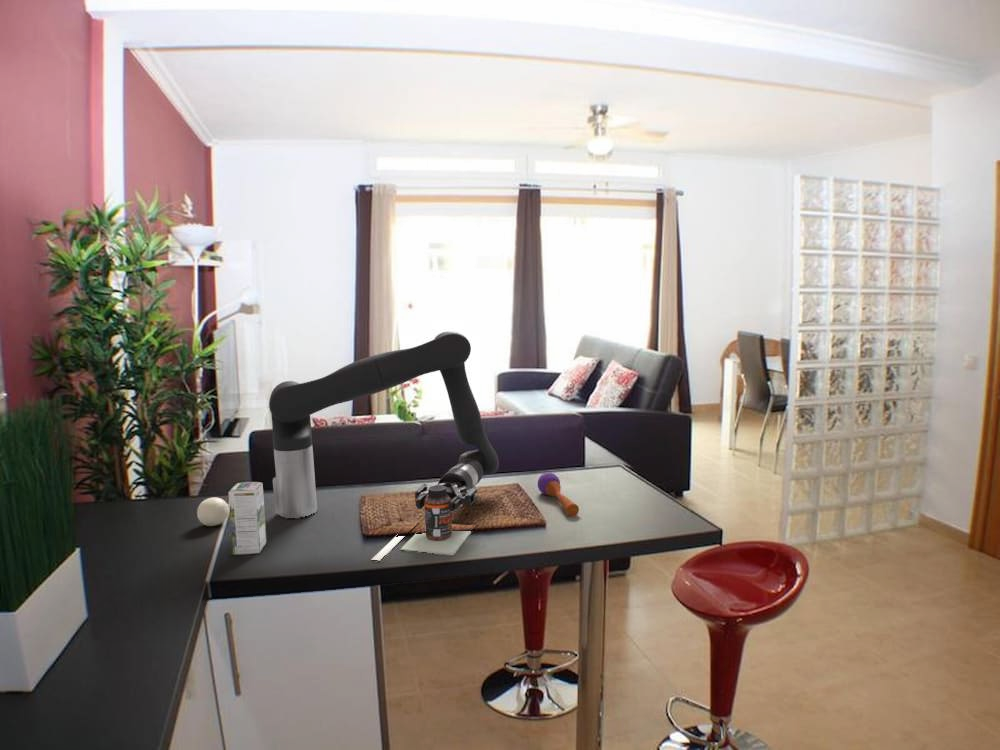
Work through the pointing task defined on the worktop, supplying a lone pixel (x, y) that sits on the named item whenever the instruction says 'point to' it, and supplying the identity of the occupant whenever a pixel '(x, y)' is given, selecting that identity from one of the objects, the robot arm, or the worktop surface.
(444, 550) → the mat
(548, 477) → the purple and orange maraca
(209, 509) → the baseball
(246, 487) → the syrup box
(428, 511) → the supplement bottle
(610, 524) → the worktop surface
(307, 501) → the robot arm
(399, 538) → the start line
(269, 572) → the worktop surface
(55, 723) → the worktop surface
